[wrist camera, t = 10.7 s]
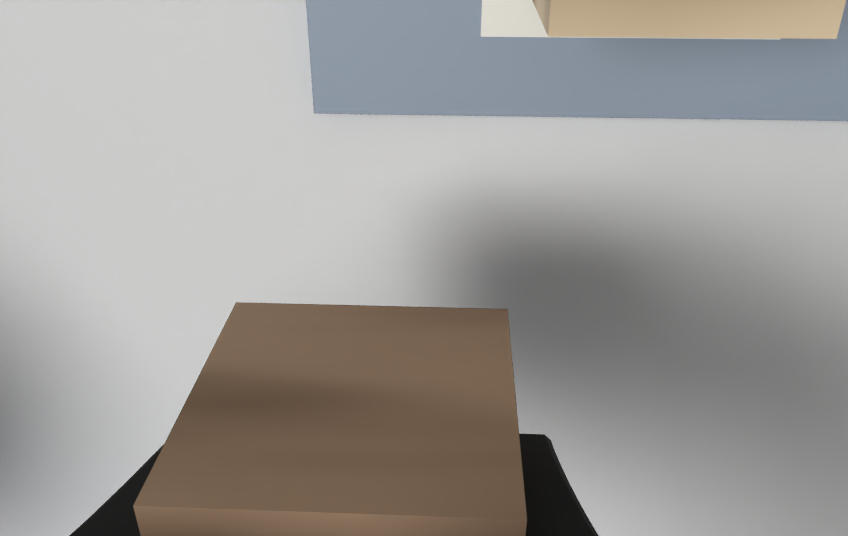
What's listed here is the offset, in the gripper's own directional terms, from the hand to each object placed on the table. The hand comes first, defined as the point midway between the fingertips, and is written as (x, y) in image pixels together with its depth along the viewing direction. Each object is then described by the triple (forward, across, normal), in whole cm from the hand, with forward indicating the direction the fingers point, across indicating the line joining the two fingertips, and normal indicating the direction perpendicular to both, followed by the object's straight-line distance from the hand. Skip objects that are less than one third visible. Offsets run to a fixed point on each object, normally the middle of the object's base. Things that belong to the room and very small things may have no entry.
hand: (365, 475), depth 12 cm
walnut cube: (+2, 0, 0) cm, 2 cm away
